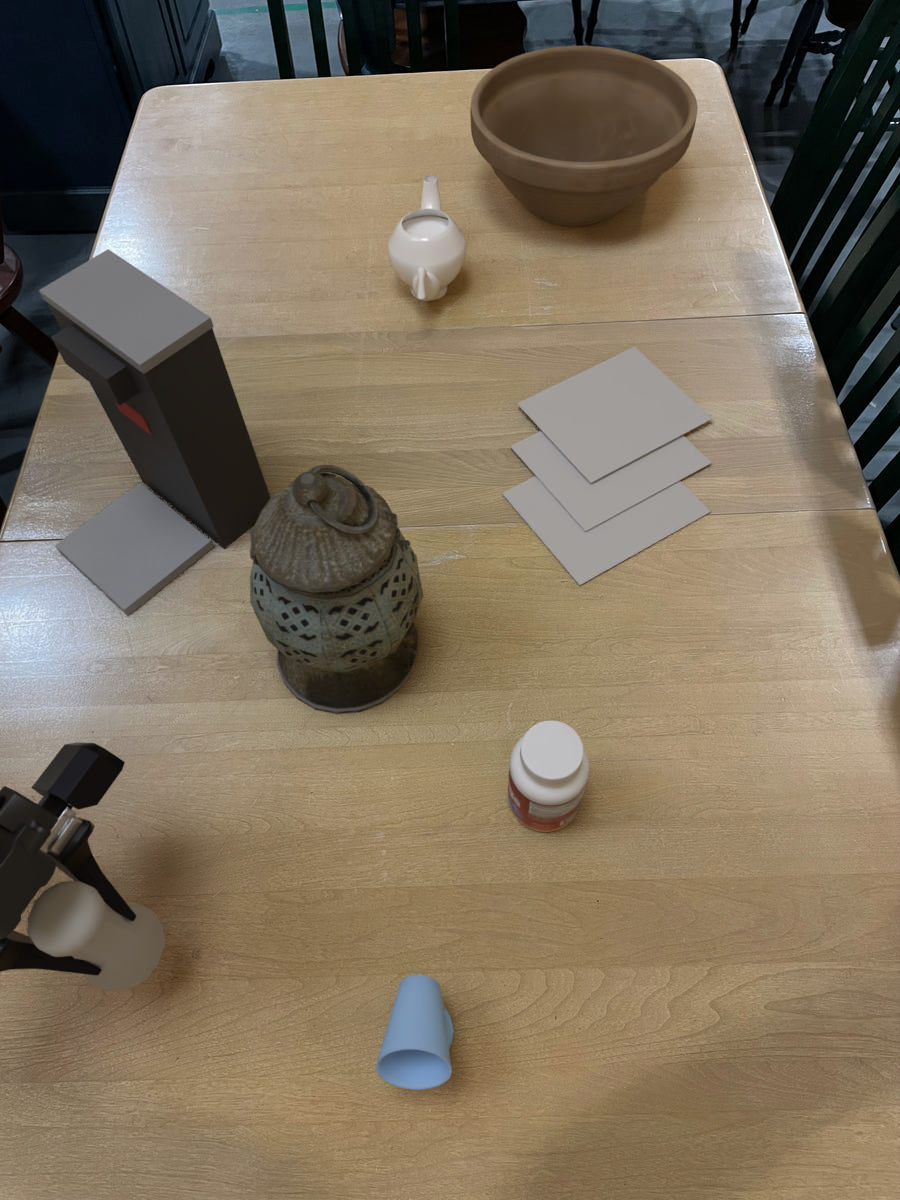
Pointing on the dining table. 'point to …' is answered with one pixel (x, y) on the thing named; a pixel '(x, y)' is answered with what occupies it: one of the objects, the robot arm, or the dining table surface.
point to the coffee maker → (155, 428)
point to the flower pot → (581, 129)
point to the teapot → (427, 246)
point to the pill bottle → (547, 776)
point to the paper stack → (609, 463)
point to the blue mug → (417, 1037)
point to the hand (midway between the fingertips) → (116, 944)
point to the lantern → (335, 591)
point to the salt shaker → (97, 934)
